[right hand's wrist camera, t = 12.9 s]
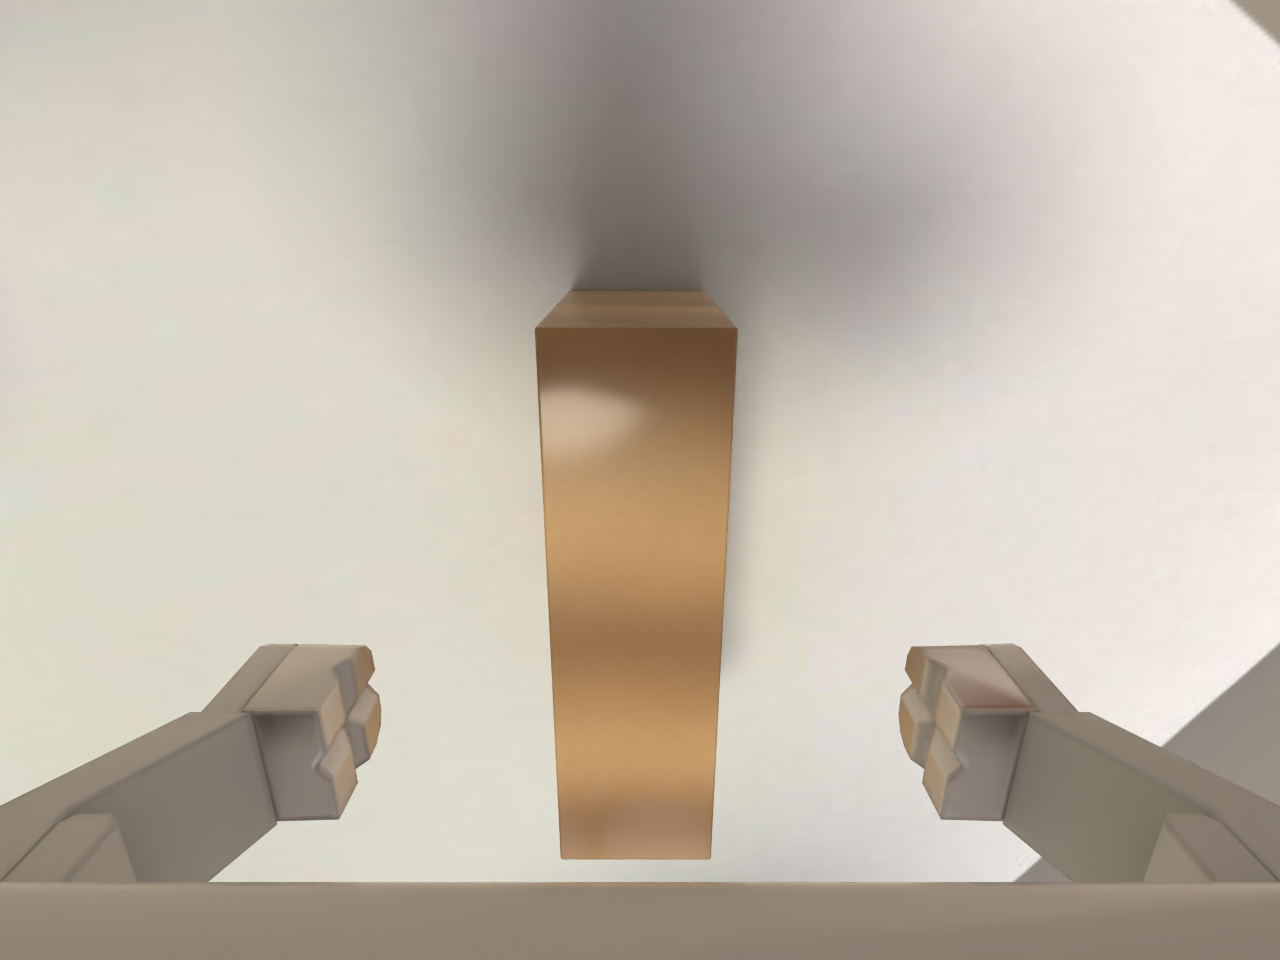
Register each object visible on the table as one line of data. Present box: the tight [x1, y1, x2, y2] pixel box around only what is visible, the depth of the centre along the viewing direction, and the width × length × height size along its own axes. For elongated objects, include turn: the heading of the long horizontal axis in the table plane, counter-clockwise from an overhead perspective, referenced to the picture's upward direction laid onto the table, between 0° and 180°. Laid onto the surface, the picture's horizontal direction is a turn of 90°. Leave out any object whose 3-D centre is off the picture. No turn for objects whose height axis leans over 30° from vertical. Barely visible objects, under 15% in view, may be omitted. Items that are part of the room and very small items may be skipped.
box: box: [535, 290, 738, 859], centre depth 28 cm, size 20×6×11 cm, turn 0°
